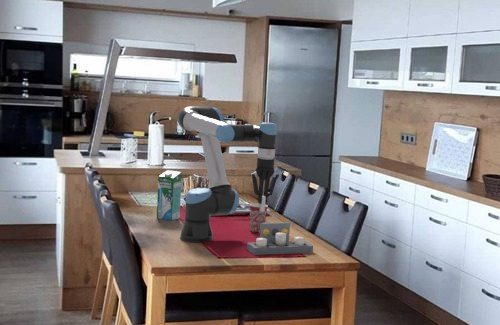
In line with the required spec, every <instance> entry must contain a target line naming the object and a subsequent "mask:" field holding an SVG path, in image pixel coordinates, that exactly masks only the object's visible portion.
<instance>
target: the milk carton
mask: <svg viewBox="0 0 500 325" xmlns="http://www.w3.org/2000/svg"><path fill="white" fill-rule="evenodd" d="M182 173H183V172H182V171H176V170H170V169H169V170H168V169H166V170H165V171H164V172H162V173H160V175H158V178H157V197H156V198H157V201H156V205H157V206H156V219H157V220H163V221H164V220H165V221H168V222H169V221H170V222H173V221H175V220H177V219H180V217H181V215H180V214H181V197H182V196H181V194H182V192H181V191H182V176H183V175H182Z"/></svg>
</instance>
